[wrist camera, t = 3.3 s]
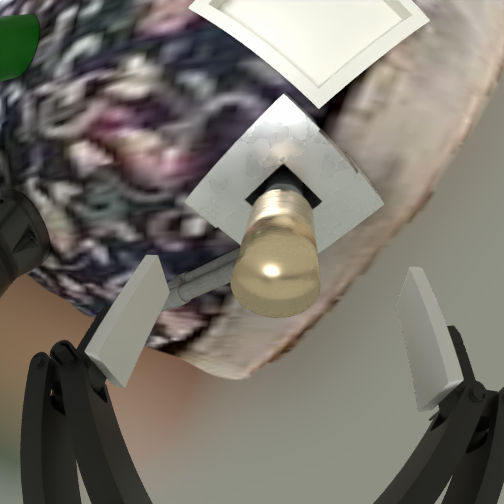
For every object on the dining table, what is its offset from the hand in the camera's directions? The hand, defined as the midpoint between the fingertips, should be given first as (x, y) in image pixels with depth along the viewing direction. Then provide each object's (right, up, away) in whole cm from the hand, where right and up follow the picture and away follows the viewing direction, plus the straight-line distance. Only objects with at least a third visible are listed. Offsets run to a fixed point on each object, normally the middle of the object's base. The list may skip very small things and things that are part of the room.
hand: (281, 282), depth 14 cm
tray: (+4, +23, +2) cm, 23 cm away
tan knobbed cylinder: (+2, +9, +12) cm, 16 cm away
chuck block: (+2, +9, +12) cm, 16 cm away
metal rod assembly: (-13, -3, +24) cm, 27 cm away
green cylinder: (-33, +30, +3) cm, 45 cm away
